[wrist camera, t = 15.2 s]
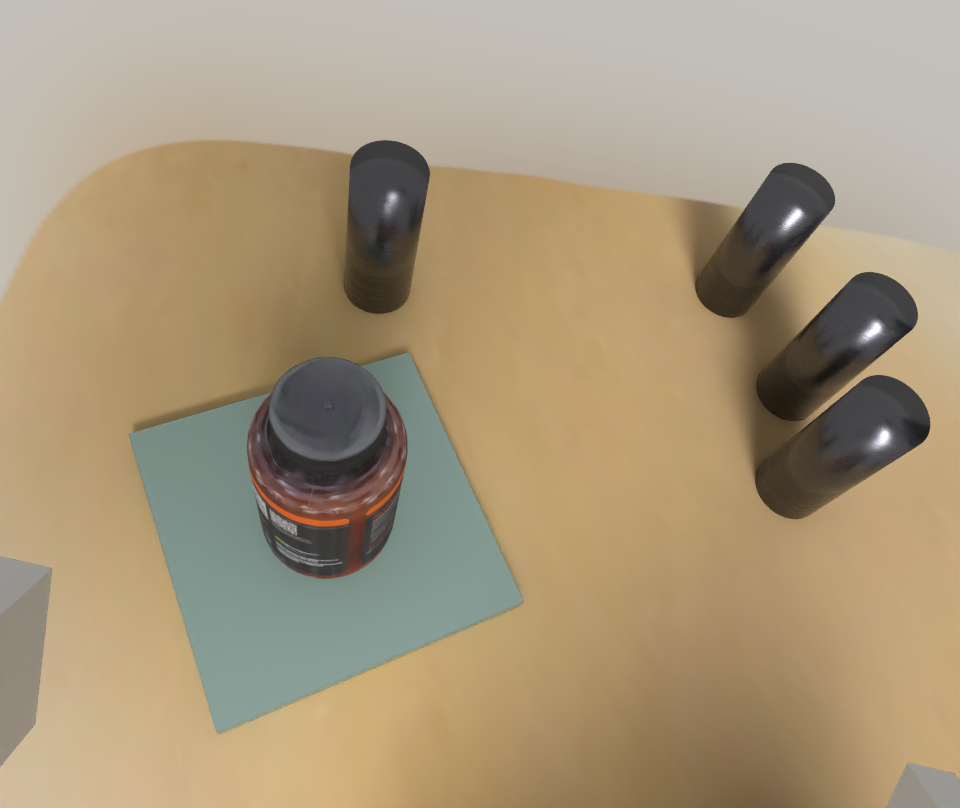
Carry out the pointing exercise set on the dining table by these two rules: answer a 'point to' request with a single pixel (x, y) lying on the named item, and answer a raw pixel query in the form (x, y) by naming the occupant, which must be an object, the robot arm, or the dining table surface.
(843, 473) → the spacer posts
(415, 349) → the dining table surface
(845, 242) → the dining table surface
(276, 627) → the board
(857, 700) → the dining table surface
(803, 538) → the dining table surface
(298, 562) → the supplement bottle
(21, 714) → the robot arm
